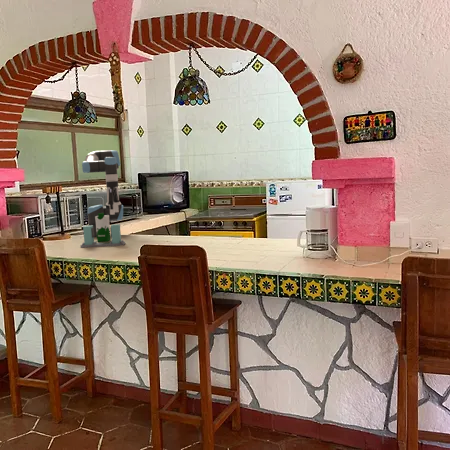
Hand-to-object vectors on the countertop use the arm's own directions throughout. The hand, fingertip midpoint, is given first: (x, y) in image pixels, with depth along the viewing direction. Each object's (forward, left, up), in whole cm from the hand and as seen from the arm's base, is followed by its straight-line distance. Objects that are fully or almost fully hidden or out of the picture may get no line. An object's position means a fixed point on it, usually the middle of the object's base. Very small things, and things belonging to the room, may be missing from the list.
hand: (114, 213), depth 316 cm
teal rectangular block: (0, -18, -20) cm, 27 cm away
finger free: (0, 0, -20) cm, 20 cm away
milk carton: (-21, -13, -21) cm, 32 cm away
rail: (0, -9, -21) cm, 23 cm away
